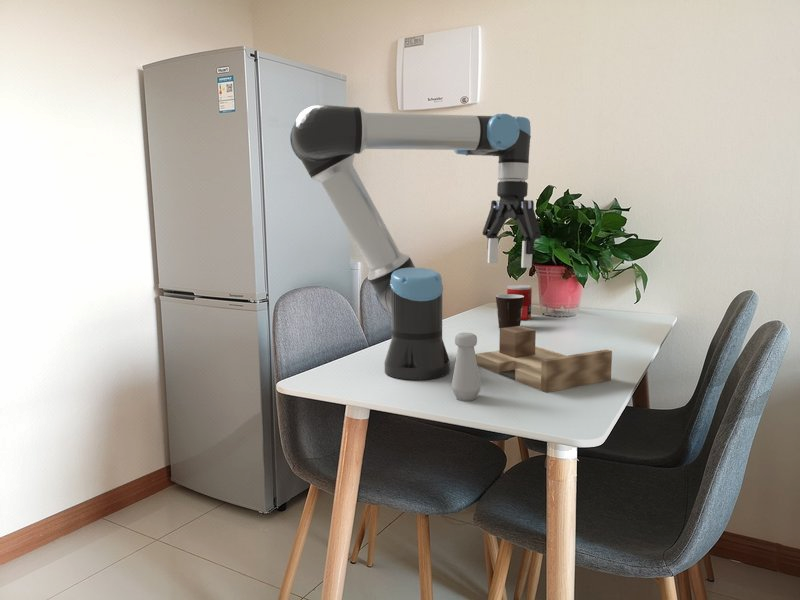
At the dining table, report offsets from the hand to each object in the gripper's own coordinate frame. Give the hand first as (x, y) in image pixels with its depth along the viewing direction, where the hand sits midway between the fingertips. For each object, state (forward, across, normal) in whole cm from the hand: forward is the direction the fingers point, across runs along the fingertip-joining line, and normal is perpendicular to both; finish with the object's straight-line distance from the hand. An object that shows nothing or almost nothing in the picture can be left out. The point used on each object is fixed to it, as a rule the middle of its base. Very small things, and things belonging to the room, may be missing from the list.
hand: (508, 265), depth 156 cm
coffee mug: (+22, +23, -19) cm, 37 cm away
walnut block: (+20, -12, +6) cm, 24 cm away
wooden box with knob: (+22, -20, +6) cm, 31 cm away
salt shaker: (+24, -27, +32) cm, 48 cm away
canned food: (+22, +34, -34) cm, 53 cm away
